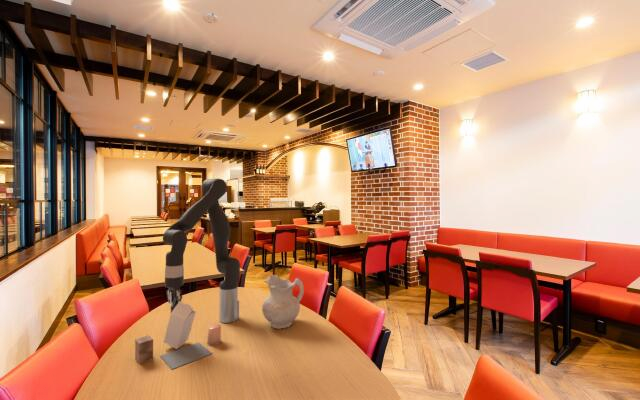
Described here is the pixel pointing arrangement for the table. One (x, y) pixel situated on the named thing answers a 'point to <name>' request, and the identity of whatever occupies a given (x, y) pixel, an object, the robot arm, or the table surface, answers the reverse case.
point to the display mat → (185, 355)
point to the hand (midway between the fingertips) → (173, 314)
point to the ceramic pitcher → (282, 302)
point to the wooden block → (143, 349)
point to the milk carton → (179, 325)
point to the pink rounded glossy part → (214, 335)
